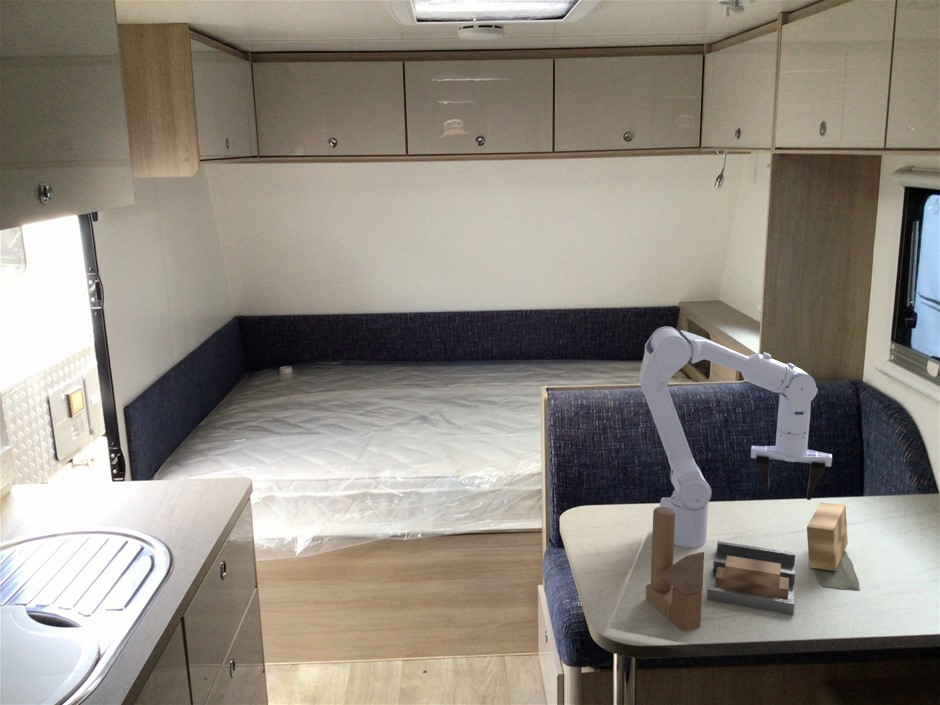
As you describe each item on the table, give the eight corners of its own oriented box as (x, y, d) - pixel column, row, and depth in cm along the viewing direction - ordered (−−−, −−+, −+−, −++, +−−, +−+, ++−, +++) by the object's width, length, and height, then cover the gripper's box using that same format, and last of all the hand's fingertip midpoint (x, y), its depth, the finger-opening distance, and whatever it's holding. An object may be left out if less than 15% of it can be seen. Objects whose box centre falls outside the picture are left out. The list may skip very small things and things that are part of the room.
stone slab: (812, 601, 141) (873, 600, 139) (811, 587, 141) (872, 585, 138) (790, 544, 162) (843, 542, 160) (790, 532, 162) (842, 530, 160)
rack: (706, 603, 138) (707, 589, 137) (717, 554, 155) (717, 541, 154) (793, 619, 132) (794, 604, 132) (794, 566, 149) (795, 552, 149)
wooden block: (682, 635, 129) (687, 534, 124) (644, 603, 138) (647, 507, 134) (701, 630, 130) (706, 529, 126) (662, 598, 140) (666, 504, 135)
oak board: (822, 540, 156) (820, 502, 155) (847, 543, 154) (845, 504, 152) (809, 567, 147) (806, 527, 145) (835, 570, 144) (833, 530, 143)
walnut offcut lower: (714, 589, 140) (715, 577, 140) (717, 579, 144) (717, 566, 143) (787, 602, 136) (788, 589, 135) (787, 590, 140) (788, 578, 139)
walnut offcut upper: (724, 578, 139) (725, 565, 139) (726, 568, 143) (727, 555, 142) (779, 587, 136) (780, 574, 135) (779, 576, 140) (780, 563, 139)
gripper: (751, 432, 152) (747, 498, 155) (834, 440, 146) (828, 508, 150) (753, 421, 158) (749, 484, 161) (833, 428, 153) (827, 494, 156)
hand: (787, 495), depth 156 cm, fingers open, 7 cm apart
